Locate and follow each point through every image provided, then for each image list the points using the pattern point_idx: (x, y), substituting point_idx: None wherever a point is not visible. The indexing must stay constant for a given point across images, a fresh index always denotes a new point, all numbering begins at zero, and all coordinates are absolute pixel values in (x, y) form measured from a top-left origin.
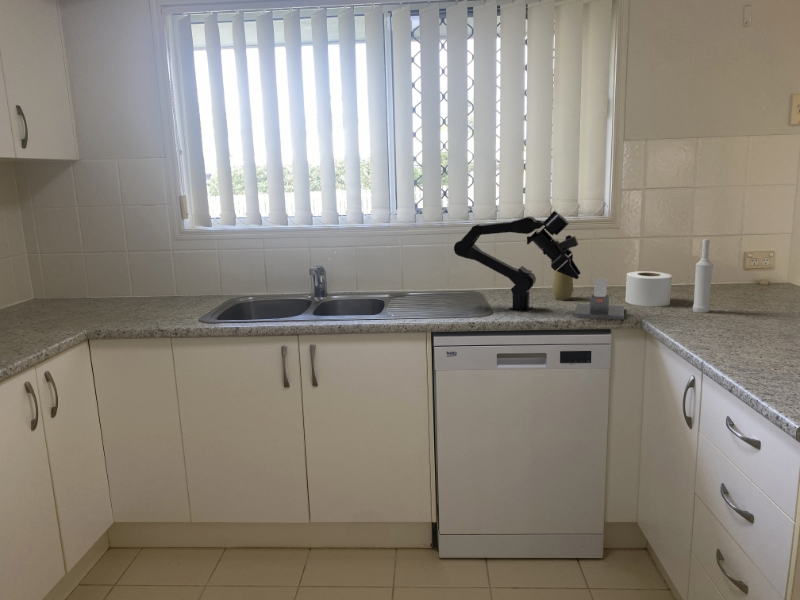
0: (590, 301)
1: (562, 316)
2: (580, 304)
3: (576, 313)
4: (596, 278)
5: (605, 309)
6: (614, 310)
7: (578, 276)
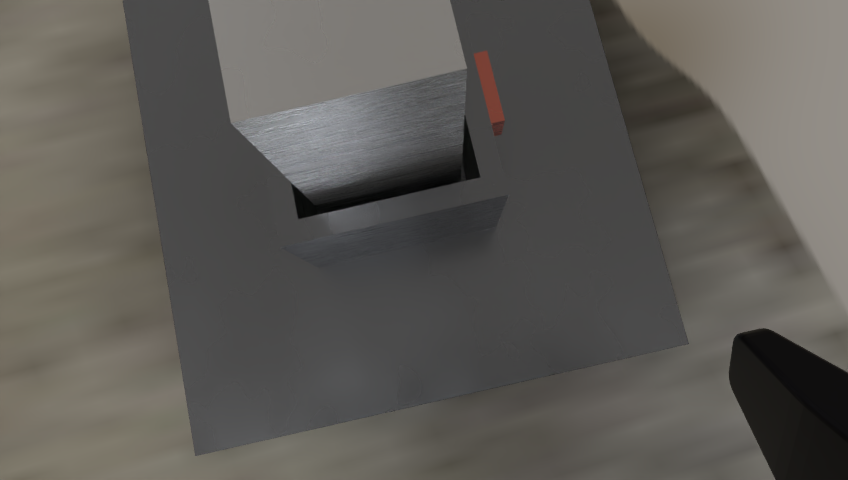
0: (504, 205)
1: (709, 459)
2: (217, 410)
3: (677, 320)
4: (265, 81)
5: None
6: None
7: (781, 337)
